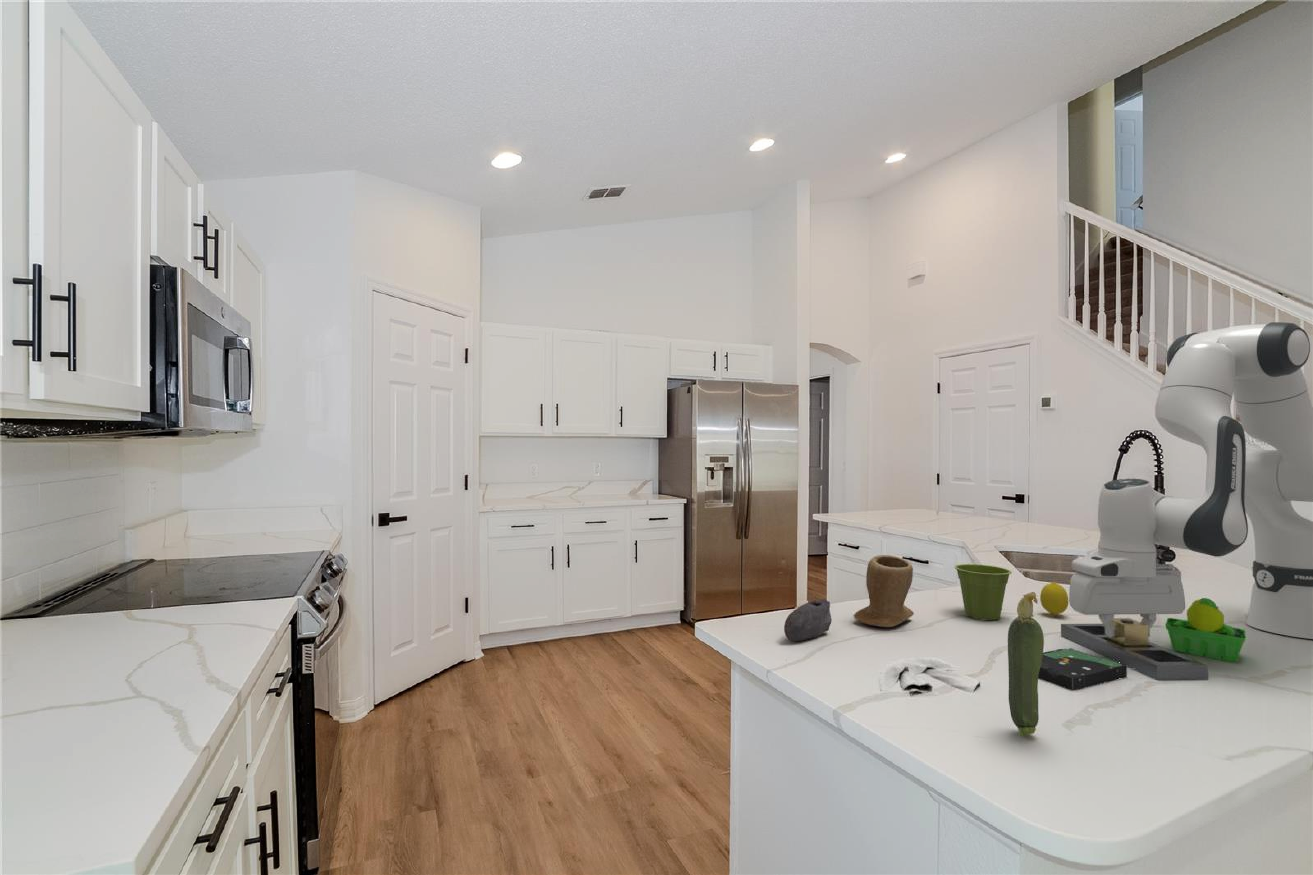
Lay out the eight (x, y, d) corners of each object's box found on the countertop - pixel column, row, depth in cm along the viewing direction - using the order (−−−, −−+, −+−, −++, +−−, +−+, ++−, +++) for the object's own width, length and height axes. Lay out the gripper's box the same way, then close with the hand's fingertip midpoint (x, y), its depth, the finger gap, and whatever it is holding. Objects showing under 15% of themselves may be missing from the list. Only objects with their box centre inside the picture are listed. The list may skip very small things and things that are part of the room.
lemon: (1072, 620, 140) (1072, 585, 140) (1046, 618, 141) (1046, 584, 141) (1062, 613, 146) (1061, 579, 146) (1036, 612, 147) (1036, 578, 147)
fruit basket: (1245, 655, 117) (1244, 596, 117) (1246, 668, 110) (1245, 605, 111) (1167, 642, 125) (1167, 586, 125) (1164, 653, 118) (1164, 594, 118)
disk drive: (1074, 695, 100) (1128, 679, 106) (1074, 678, 100) (1128, 663, 106) (1014, 673, 109) (1067, 660, 116) (1014, 657, 109) (1066, 645, 116)
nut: (1129, 643, 119) (1129, 617, 119) (1148, 651, 115) (1148, 623, 115) (1106, 644, 119) (1106, 617, 119) (1125, 652, 115) (1124, 624, 115)
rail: (1102, 635, 129) (1102, 623, 129) (1208, 679, 105) (1208, 664, 105) (1060, 635, 129) (1060, 623, 129) (1156, 679, 105) (1156, 665, 105)
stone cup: (898, 635, 129) (898, 564, 129) (847, 623, 137) (846, 557, 138) (928, 621, 139) (928, 555, 140) (878, 611, 148) (878, 548, 148)
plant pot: (1023, 624, 137) (1022, 574, 137) (969, 624, 137) (969, 573, 137) (994, 609, 149) (994, 563, 149) (945, 609, 149) (945, 563, 149)
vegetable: (1001, 726, 87) (1000, 586, 88) (1029, 725, 88) (1029, 586, 88) (1022, 741, 83) (1021, 594, 83) (1052, 740, 83) (1051, 593, 84)
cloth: (941, 659, 117) (941, 646, 117) (1029, 708, 95) (1029, 692, 95) (841, 665, 113) (841, 652, 113) (909, 718, 92) (909, 701, 92)
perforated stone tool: (795, 648, 121) (795, 613, 121) (774, 641, 125) (774, 607, 125) (838, 633, 131) (838, 600, 131) (817, 627, 135) (817, 596, 135)
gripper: (1165, 560, 120) (1166, 631, 120) (1063, 561, 120) (1064, 632, 120) (1194, 567, 114) (1195, 641, 114) (1086, 567, 114) (1087, 642, 113)
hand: (1127, 636), depth 117 cm, fingers closed on nut, 4 cm apart
